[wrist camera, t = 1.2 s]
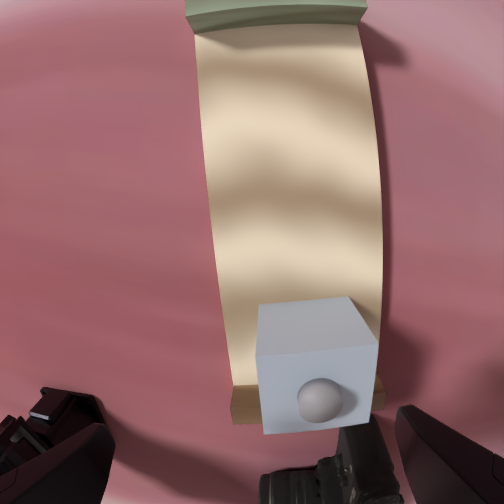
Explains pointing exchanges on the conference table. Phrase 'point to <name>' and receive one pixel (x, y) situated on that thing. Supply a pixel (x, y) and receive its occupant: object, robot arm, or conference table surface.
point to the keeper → (314, 365)
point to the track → (287, 166)
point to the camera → (340, 474)
